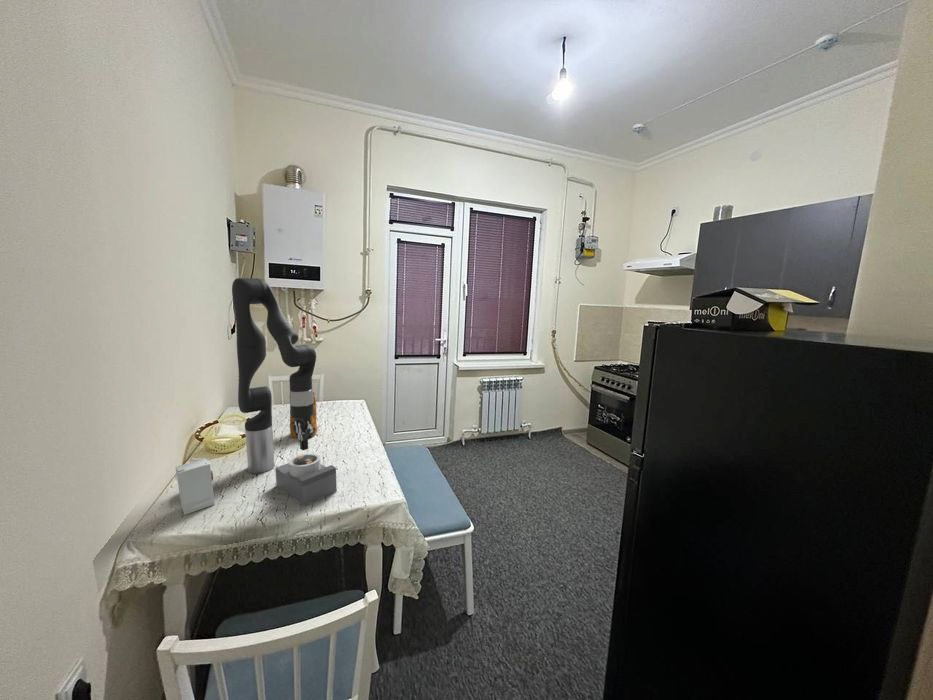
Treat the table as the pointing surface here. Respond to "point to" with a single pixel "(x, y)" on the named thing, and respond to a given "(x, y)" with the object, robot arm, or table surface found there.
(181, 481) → the skincare box
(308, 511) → the table surface
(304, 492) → the camera body
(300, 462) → the grey dome
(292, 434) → the coffee package
